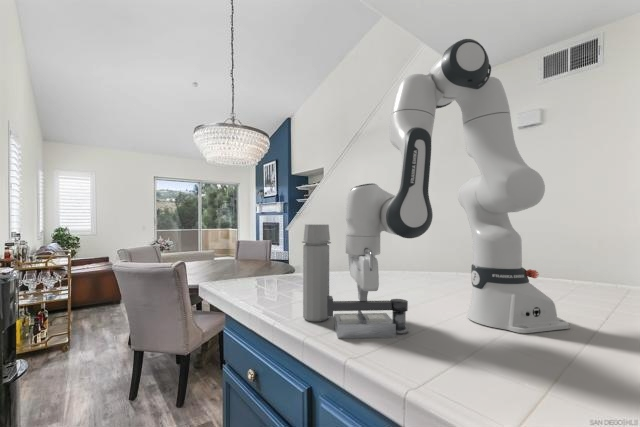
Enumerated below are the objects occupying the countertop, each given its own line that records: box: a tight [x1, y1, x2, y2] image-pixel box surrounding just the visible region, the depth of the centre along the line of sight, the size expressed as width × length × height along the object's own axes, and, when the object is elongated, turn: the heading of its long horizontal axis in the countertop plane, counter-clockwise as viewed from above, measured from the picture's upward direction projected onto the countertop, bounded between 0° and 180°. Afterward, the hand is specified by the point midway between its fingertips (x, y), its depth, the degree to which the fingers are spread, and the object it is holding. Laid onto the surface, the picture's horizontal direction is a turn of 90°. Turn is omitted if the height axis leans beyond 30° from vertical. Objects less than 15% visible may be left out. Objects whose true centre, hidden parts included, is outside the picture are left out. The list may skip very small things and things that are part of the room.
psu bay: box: [333, 311, 397, 339], centre depth 71 cm, size 13×8×4 cm, turn 93°
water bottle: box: [301, 223, 332, 323], centre depth 81 cm, size 9×8×25 cm
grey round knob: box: [391, 310, 410, 335], centre depth 71 cm, size 4×4×4 cm
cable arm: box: [327, 295, 409, 318], centre depth 71 cm, size 19×4×4 cm, turn 93°
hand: (362, 301), depth 77 cm, fingers closed
